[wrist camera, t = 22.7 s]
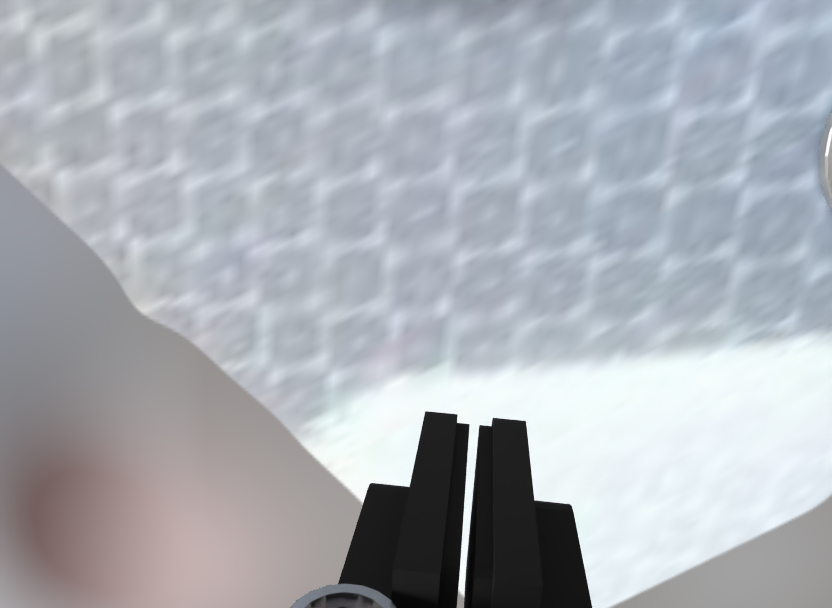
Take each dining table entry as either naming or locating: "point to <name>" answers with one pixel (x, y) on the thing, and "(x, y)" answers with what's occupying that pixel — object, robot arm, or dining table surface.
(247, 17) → the dining table surface
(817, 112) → the dining table surface
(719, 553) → the dining table surface
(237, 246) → the dining table surface
